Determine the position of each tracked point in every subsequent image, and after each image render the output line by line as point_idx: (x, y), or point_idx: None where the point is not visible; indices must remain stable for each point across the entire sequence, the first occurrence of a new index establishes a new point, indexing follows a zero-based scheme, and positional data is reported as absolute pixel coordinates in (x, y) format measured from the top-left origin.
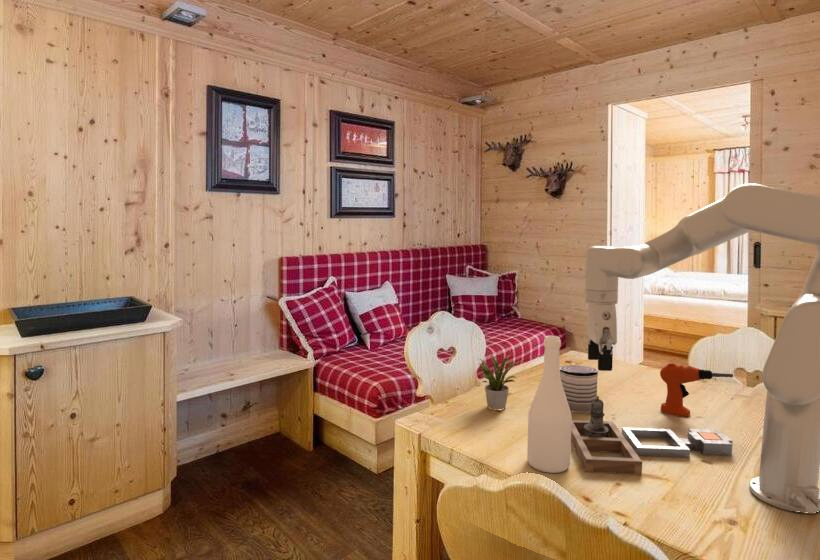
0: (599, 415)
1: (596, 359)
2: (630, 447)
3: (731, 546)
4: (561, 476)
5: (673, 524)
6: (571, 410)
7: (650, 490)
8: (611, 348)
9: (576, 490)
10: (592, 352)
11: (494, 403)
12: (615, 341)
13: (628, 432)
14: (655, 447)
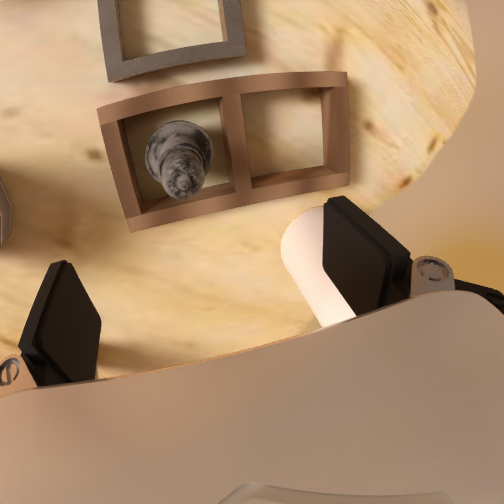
0: (202, 159)
1: (81, 284)
2: (278, 77)
3: (466, 43)
4: None
5: (446, 85)
6: (10, 219)
7: (381, 77)
8: (500, 299)
9: (387, 195)
10: (85, 342)
11: (96, 364)
12: (497, 315)
13: (143, 65)
14: (235, 12)
